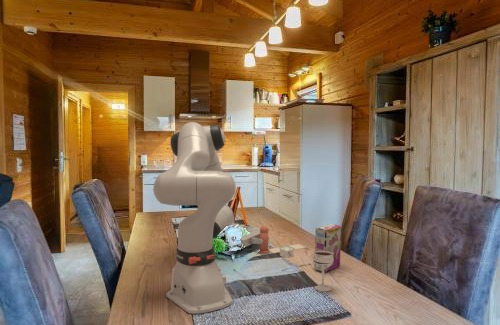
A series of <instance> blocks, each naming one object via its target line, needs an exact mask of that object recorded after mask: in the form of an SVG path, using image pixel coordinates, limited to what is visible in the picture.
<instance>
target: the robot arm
mask: <svg viewBox="0 0 500 325" xmlns="http://www.w3.org/2000/svg"><path fill="white" fill-rule="evenodd" d="M169 143H170V149H171V151H172V152H173V155H174V156H176V161H175V163H174V164H173V165H172V166H171V167H170V168H168V170H167V169H166V171H164V172H162V173H159V174H158V176H157V177H156V178H155V181H154V184H153V195H154V196H155V199H156V200H157V201H158V202H159V203H160V204H162V205H163V204H164V205H169V206H174V207H175V206H177V207H178V206H181V207H182V206H196V207H197V208H196V211H195V212H194V213H192V214H190V215H188V216H186V217H185V218H183V219H182V220H181V221H180V222H179V224H178V227H177V248H176V251H175V252H176V253H175V255H176V263H175V264H174V266H173V268H172V269H171V284H170V286H171V287H170V290H168V291H167V292H166V297H167V298H168V299H169V300H170V301H172V302H173V303H174V304H175V305H177V306H178V307H180V309H182V310H184V311H185V312H187V314H196V315H197V314H203V313H205V314H206V313H210V312H213V311H215V312H216V311H217V310H222V309H224V308H227V307H228V306H231V305H232V304H233V298H232V296H231V295H230V293H229V292H228V289H227V288H226V286H225V283H226V282H227V275H226V274H221V271H222V268H221V267H219V266H218V264H217V262H216V261H217V260H216V252H215V247H214V245H213V244H214V239H213V238H215V237H216V236H217V235H218V234H219V233H220V232H221V231H222V230H223V229H224V228H225V227H226V226H229V225H235V216H234V215H235V213H234V211H233V208H232V207H231V206H229V205H228V203H229V202H231V200H232V199H233V198H234V196H235V194H236V189H237V188H236V182H235V179H234V177H233V176H232V174H230V173H229V172H224V171H222V165H221V162H220V158H219V155H218V152H217V151H220V150H221V149H223V148H224V146H225V143H226V135H225V132H224V130H223V129H222V127H221V126H220V125H218V124H210V125H204V126H202V124H200V123H198V122H194V121H190V122H186V123H185V124H184V125H182V127H181V128H180V130H179V131H177V132H174V134H172V136H171V137H170V142H169ZM237 225H238V226H240V227H243V228H246V230H247V231H248V232H250V234H249V235H244V236H243V237H242V238H241V239H240V240H241V243H242V244H243V245H244V246H245V247H244V248H246V247H249V246H251V245H253V244H259V245H260V244H262V243H263V242H264V239H261V238H260V228H261V227H257V226H253V225H252V224H249V225H247V224H245V225H243V224H242V225H239V224H237ZM268 241H270V236H269V235H268Z"/></svg>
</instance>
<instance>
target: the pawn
mask: <svg viewBox="0 0 500 325" xmlns="http://www.w3.org/2000/svg"><path fill="white" fill-rule="evenodd" d="M259 228H260V238H261V239H264V242H263V243H262V244H260V243H259V249H260V251H259V253H260V254H266V255H269V254H268V253H269V249H270V248H269V240H268V236H269V227H267V226H265V225H263V226H262V225H261V227H259ZM259 253H258V254H259Z"/></svg>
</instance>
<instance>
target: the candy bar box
mask: <svg viewBox="0 0 500 325" xmlns="http://www.w3.org/2000/svg"><path fill="white" fill-rule="evenodd" d="M314 238H315V239H314V240H315V242H314V244H315V245H314V248H315V249H314V251H315V250H329V251H332V252H333V253H334V254H333V257H334V262H333V264H332V265H331V266H330V267H329V268H326V269H325V270H324V274H326V273H328V272H330V271H332V270H334V269H337V268H339V267H341V246H342V245H341V242H342V225H339V224H338V225H337V224H334V223H330V224H329V223H328V224H326V225H323V226H319V227H315V237H314ZM313 270H315V271H317V272H319V273H322V269H321V268H320V267H318V266H317V265H316V264H315V263H314V269H313Z"/></svg>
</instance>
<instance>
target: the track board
mask: <svg viewBox="0 0 500 325" xmlns="http://www.w3.org/2000/svg"><path fill="white" fill-rule="evenodd" d="M285 247H288V248H291V249H293V251H294V250H300V249H304V248H305V249H306V250H309V248H307V247H306V246H304V245H301V244H299V243H295V244H291V245H285V246H278V247H273V248H268V249H269V253H268V254H260V253H258V254H257V255H255V256H253V257H258V256H259V257H260V256H265V255H270V254H276V253H280V249H281V248H285ZM253 257H252V258H253Z"/></svg>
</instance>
